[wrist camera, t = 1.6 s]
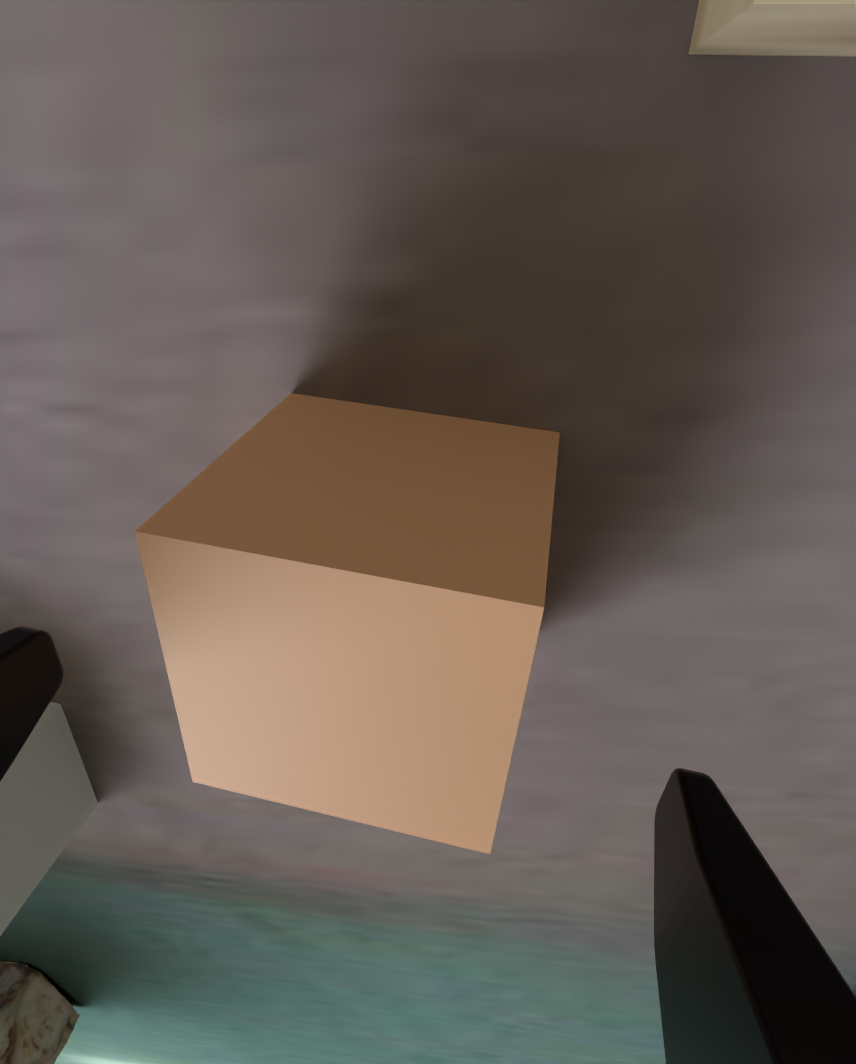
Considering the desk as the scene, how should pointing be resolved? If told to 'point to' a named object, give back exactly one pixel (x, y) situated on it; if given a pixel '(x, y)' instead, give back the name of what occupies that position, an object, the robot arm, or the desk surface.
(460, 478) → the tan cube
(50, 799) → the light grey cube
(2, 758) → the robot arm
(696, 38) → the birch block
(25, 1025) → the stone block
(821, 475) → the desk surface
